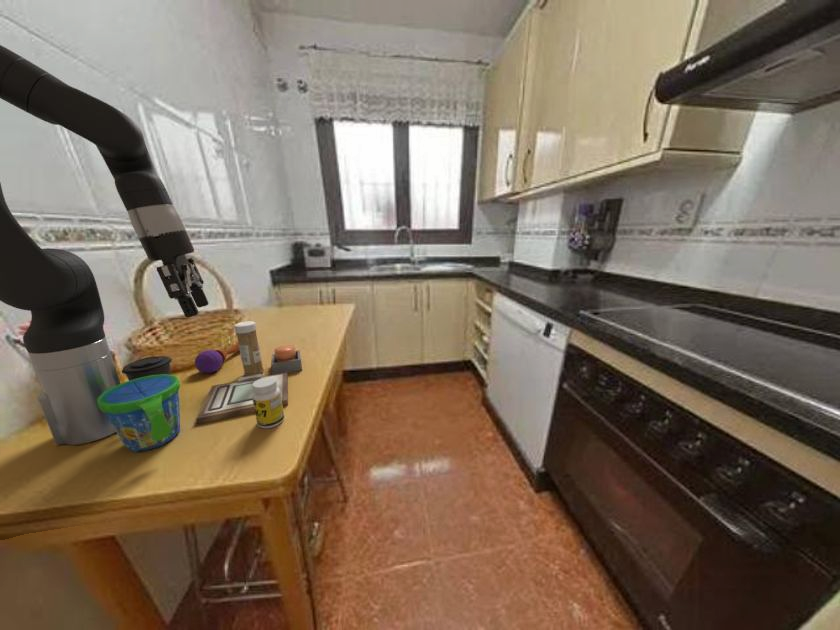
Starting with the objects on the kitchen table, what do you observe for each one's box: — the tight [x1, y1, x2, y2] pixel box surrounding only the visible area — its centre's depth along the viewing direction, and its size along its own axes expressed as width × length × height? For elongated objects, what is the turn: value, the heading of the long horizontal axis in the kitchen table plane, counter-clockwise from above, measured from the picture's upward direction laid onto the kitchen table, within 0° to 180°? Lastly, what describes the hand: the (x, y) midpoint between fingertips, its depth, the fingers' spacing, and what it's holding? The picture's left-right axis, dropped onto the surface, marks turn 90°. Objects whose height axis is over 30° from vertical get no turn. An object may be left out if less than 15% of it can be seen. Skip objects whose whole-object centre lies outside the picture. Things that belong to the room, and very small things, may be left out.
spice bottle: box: [234, 320, 264, 377], centre depth 79 cm, size 5×5×14 cm
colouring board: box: [195, 373, 289, 425], centre depth 69 cm, size 16×14×2 cm
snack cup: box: [97, 374, 181, 453], centre depth 54 cm, size 16×10×10 cm
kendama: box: [194, 342, 240, 374], centre depth 88 cm, size 6×6×20 cm
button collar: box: [270, 349, 303, 375], centre depth 83 cm, size 7×7×3 cm
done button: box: [274, 345, 297, 362], centre depth 82 cm, size 5×5×4 cm
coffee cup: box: [121, 355, 172, 381], centre depth 66 cm, size 8×8×10 cm
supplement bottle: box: [252, 377, 285, 429], centre depth 59 cm, size 5×5×8 cm
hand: (198, 310), depth 66 cm, fingers open, 8 cm apart
